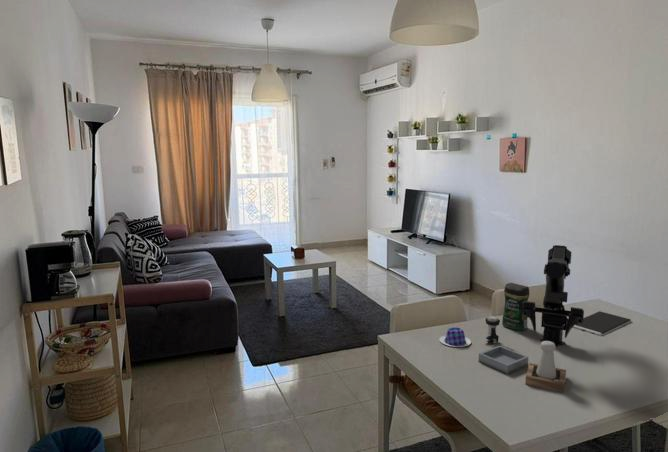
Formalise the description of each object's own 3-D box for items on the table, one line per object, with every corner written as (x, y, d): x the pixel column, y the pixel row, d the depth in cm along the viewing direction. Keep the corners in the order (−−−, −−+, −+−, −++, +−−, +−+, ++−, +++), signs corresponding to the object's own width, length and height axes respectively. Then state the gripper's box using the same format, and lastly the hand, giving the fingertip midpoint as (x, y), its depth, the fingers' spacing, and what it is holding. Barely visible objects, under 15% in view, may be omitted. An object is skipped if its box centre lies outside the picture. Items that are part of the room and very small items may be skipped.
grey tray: (499, 353, 168) (499, 345, 167) (527, 365, 158) (528, 356, 158) (478, 361, 161) (478, 353, 161) (507, 374, 152) (507, 365, 151)
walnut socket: (529, 369, 155) (529, 362, 154) (565, 377, 150) (566, 369, 149) (525, 384, 145) (525, 376, 145) (564, 392, 140) (564, 384, 140)
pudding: (460, 334, 186) (460, 322, 185) (477, 346, 175) (477, 333, 174) (433, 338, 183) (434, 325, 182) (449, 350, 171) (449, 337, 171)
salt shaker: (532, 376, 150) (534, 339, 148) (549, 375, 150) (551, 338, 148) (542, 385, 144) (544, 346, 142) (559, 384, 145) (562, 345, 143)
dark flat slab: (567, 327, 193) (568, 323, 193) (599, 314, 209) (599, 310, 208) (600, 338, 183) (601, 333, 182) (631, 322, 198) (631, 318, 198)
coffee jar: (498, 326, 194) (501, 283, 191) (508, 321, 199) (511, 280, 196) (520, 332, 187) (523, 288, 184) (530, 328, 192) (532, 285, 189)
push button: (490, 346, 173) (491, 321, 172) (479, 342, 178) (480, 317, 176) (501, 342, 177) (503, 318, 175) (490, 338, 181) (491, 314, 180)
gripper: (524, 278, 158) (518, 319, 150) (585, 285, 149) (583, 328, 141) (525, 294, 166) (520, 333, 158) (584, 301, 157) (581, 343, 149)
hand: (549, 334), depth 151 cm, fingers open, 9 cm apart
